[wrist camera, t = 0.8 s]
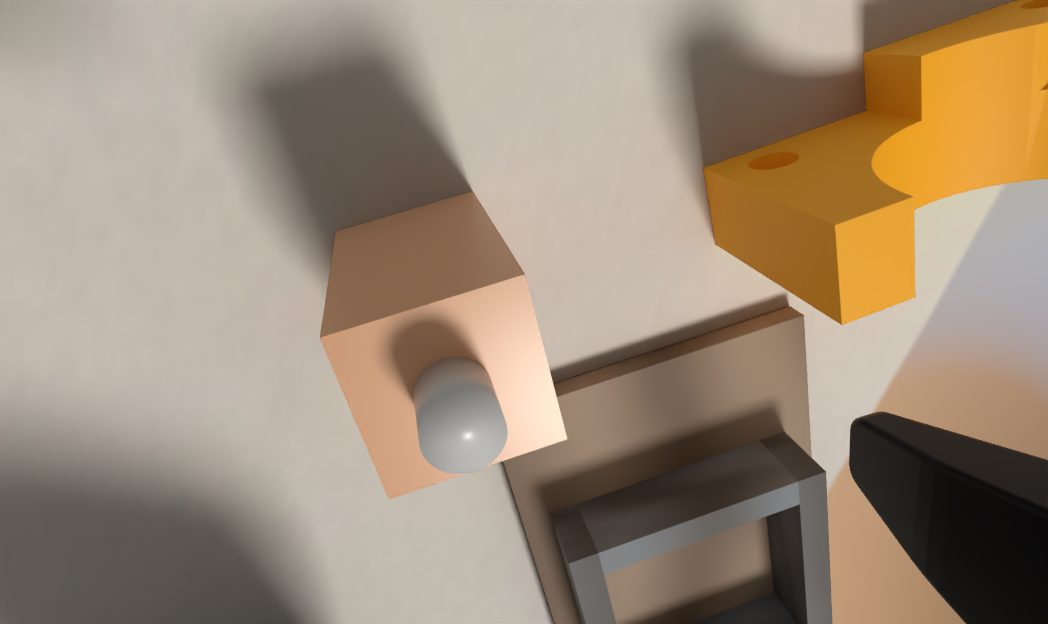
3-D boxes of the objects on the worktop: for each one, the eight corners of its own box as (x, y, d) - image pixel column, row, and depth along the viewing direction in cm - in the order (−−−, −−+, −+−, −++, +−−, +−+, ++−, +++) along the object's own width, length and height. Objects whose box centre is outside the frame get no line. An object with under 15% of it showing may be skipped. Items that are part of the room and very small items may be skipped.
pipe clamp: (1049, -12, 20) (1319, -26, 15) (1038, 125, 22) (1273, 162, 17) (691, 110, 19) (829, 148, 14) (713, 243, 21) (842, 325, 16)
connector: (382, 352, 20) (391, 553, 13) (335, 231, 18) (313, 379, 11) (506, 312, 21) (590, 485, 13) (472, 190, 19) (545, 306, 11)
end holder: (588, 731, 30) (612, 807, 27) (485, 406, 22) (504, 464, 19) (811, 645, 31) (857, 709, 28) (790, 306, 23) (850, 347, 20)
